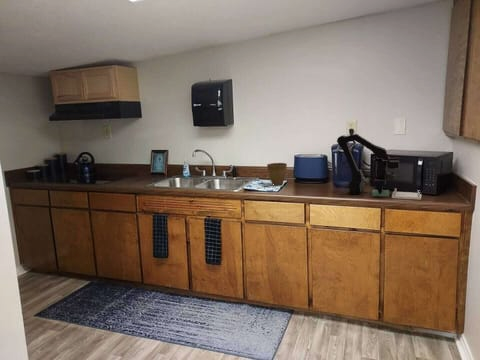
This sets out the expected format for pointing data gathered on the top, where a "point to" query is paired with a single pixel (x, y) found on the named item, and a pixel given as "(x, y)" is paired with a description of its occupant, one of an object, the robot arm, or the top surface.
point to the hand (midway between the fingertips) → (380, 192)
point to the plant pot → (277, 172)
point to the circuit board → (383, 193)
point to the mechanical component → (364, 182)
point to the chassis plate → (406, 195)
